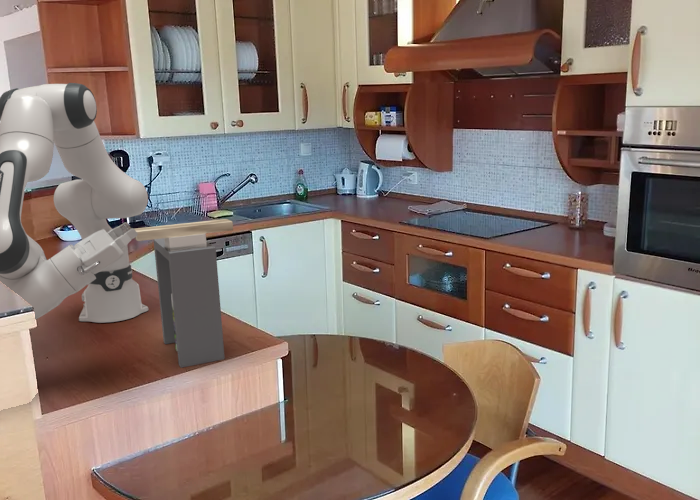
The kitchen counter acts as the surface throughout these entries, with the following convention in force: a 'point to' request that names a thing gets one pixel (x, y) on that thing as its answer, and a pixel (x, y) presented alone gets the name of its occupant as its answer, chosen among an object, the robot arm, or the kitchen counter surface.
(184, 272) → the shelf
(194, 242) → the ceramic dish
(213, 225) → the slat
